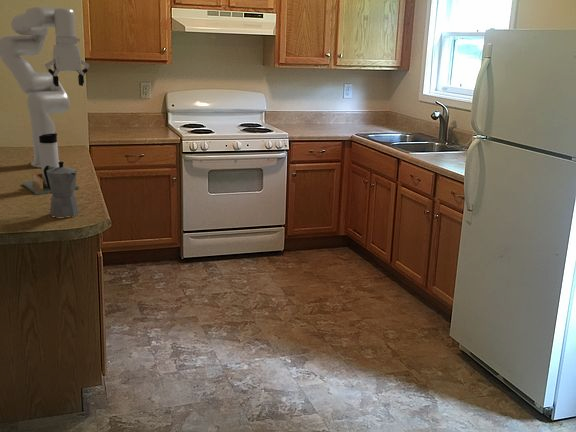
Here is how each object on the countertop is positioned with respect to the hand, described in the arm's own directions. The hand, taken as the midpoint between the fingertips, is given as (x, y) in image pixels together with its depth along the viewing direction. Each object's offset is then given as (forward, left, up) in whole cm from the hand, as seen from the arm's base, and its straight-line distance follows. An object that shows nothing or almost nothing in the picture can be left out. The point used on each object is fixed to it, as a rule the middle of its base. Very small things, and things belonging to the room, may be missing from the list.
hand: (68, 85), depth 253 cm
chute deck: (+16, -15, -36) cm, 42 cm away
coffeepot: (+53, -22, -37) cm, 68 cm away
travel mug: (+18, -15, -35) cm, 42 cm away
